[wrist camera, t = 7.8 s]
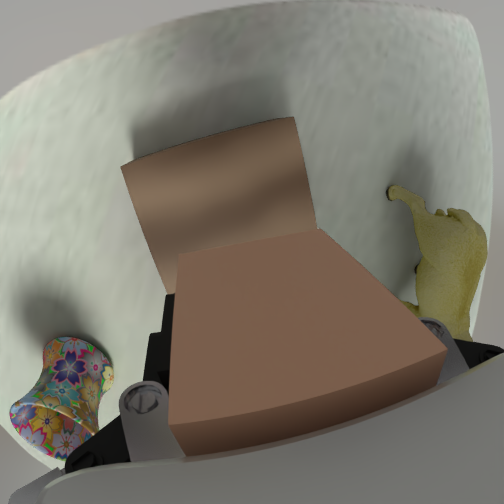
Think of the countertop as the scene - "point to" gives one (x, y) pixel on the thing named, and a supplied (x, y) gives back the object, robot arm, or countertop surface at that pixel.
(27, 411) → the mug
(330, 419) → the terracotta block
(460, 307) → the toy
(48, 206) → the countertop surface
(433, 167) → the countertop surface
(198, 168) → the walnut box
